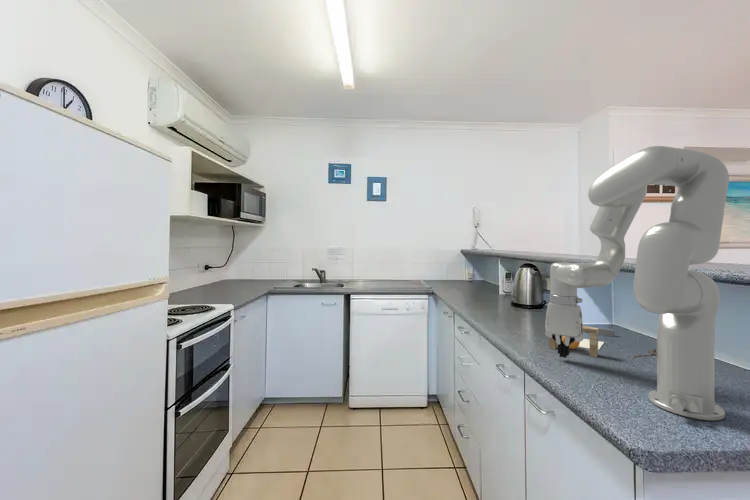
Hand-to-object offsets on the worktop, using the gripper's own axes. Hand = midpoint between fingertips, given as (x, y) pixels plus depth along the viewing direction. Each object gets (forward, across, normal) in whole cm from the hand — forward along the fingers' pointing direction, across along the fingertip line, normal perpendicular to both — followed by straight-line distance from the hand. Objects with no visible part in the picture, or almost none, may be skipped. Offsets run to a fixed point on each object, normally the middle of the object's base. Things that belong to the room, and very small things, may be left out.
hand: (563, 356), depth 104 cm
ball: (-1, +1, -16) cm, 16 cm away
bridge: (+2, 0, -13) cm, 13 cm away
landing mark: (+2, 0, -27) cm, 27 cm away
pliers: (+2, -20, -25) cm, 32 cm away
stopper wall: (+2, 0, -47) cm, 47 cm away
